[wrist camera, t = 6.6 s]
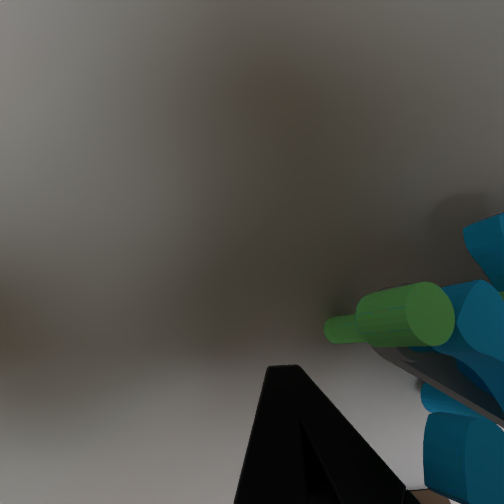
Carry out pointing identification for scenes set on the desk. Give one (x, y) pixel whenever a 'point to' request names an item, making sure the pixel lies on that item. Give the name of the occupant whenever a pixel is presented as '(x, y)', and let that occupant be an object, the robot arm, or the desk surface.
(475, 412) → the gear
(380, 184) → the desk surface
